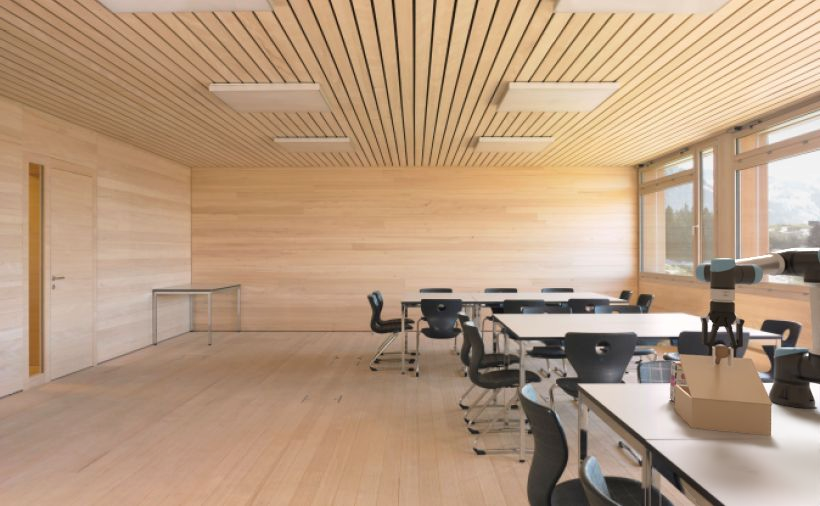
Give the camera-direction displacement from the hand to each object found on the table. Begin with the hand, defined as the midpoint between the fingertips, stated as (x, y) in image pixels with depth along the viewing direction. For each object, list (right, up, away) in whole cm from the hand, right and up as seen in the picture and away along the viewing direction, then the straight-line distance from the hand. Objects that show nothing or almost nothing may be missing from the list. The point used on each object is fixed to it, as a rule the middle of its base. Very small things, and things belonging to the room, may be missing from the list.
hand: (721, 365), depth 172 cm
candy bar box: (+2, -21, +25) cm, 33 cm away
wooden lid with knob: (0, -5, -1) cm, 5 cm away
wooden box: (0, -21, +1) cm, 21 cm away
